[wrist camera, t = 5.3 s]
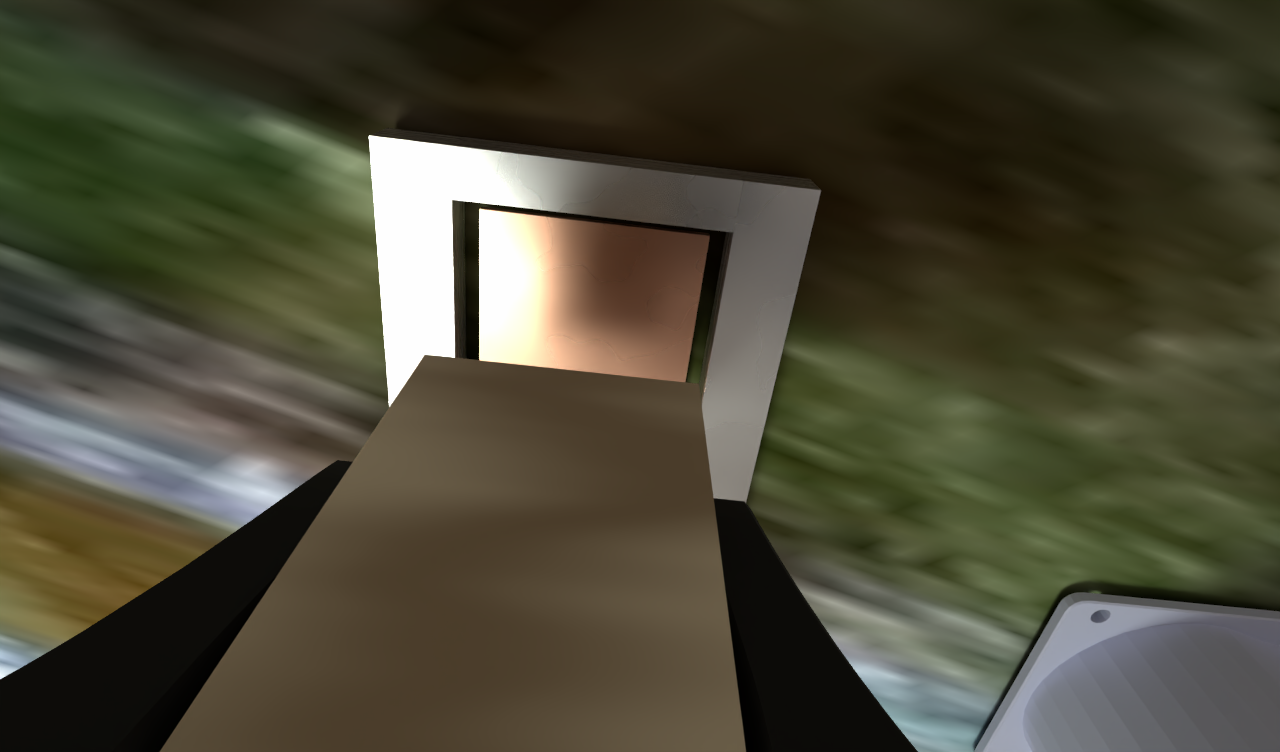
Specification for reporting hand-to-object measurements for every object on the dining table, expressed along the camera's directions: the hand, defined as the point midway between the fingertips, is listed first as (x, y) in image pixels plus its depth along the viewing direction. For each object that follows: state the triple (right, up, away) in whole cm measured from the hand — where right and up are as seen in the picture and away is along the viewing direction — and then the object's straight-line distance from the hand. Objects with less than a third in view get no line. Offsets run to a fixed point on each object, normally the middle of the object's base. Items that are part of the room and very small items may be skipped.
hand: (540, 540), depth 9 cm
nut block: (0, +1, +2) cm, 2 cm away
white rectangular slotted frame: (-1, -2, +9) cm, 10 cm away
